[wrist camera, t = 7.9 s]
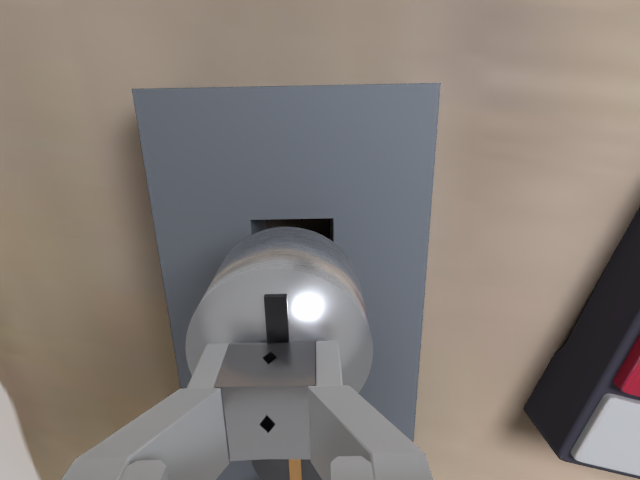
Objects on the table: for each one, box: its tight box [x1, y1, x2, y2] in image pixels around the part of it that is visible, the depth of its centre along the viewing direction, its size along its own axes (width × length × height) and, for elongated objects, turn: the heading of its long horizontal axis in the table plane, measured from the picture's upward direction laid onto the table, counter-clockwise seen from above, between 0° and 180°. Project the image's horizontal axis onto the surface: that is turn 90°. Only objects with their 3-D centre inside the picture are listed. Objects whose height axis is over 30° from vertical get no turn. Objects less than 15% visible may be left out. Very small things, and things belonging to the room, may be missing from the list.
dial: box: [252, 459, 322, 480], centre depth 16 cm, size 3×3×4 cm
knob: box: [185, 227, 373, 393], centre depth 13 cm, size 4×4×7 cm
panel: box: [132, 83, 441, 480], centre depth 19 cm, size 24×10×4 cm, turn 1°
